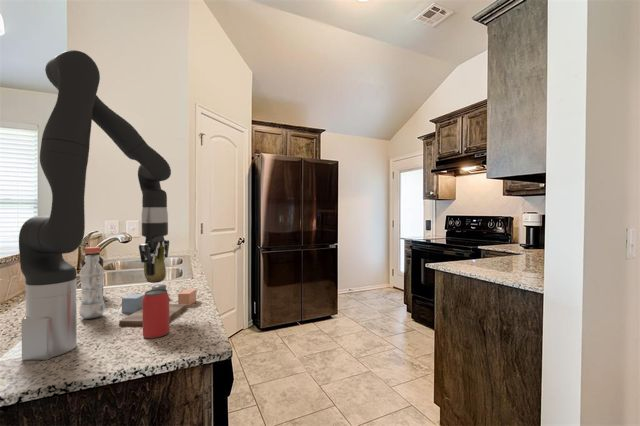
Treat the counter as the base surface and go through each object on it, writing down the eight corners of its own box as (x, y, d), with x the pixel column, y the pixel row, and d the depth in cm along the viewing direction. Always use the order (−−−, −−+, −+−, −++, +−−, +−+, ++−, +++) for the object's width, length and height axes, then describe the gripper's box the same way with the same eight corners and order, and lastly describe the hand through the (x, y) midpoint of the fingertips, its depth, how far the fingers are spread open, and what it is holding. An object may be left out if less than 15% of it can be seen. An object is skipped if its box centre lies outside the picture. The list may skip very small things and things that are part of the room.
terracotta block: (189, 306, 108) (189, 293, 108) (178, 306, 108) (178, 293, 108) (196, 301, 114) (196, 289, 114) (185, 301, 114) (185, 289, 114)
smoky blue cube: (136, 313, 100) (136, 298, 100) (121, 313, 100) (121, 298, 100) (145, 308, 105) (145, 294, 105) (131, 308, 105) (131, 294, 105)
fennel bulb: (141, 283, 95) (141, 246, 95) (153, 280, 100) (153, 244, 100) (157, 284, 94) (157, 246, 94) (168, 280, 98) (168, 244, 98)
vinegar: (106, 296, 119) (106, 247, 119) (86, 301, 113) (85, 249, 113) (98, 294, 123) (98, 246, 123) (78, 298, 117) (78, 247, 117)
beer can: (150, 341, 78) (150, 296, 78) (137, 335, 82) (137, 292, 82) (174, 332, 84) (174, 290, 84) (161, 327, 87) (161, 287, 87)
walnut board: (162, 325, 89) (162, 320, 89) (119, 325, 89) (119, 320, 89) (186, 308, 105) (186, 304, 105) (150, 308, 105) (150, 304, 105)
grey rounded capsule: (161, 300, 114) (161, 287, 114) (148, 300, 114) (148, 287, 114) (168, 296, 119) (168, 284, 119) (156, 296, 119) (156, 284, 119)
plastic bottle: (91, 321, 92) (91, 257, 92) (73, 320, 93) (73, 256, 93) (110, 314, 98) (109, 254, 98) (93, 313, 100) (93, 254, 100)
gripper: (154, 222, 89) (154, 278, 90) (177, 220, 104) (177, 269, 104) (129, 222, 89) (129, 278, 90) (155, 220, 104) (156, 269, 104)
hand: (155, 273), depth 97 cm, fingers closed on fennel bulb, 4 cm apart
